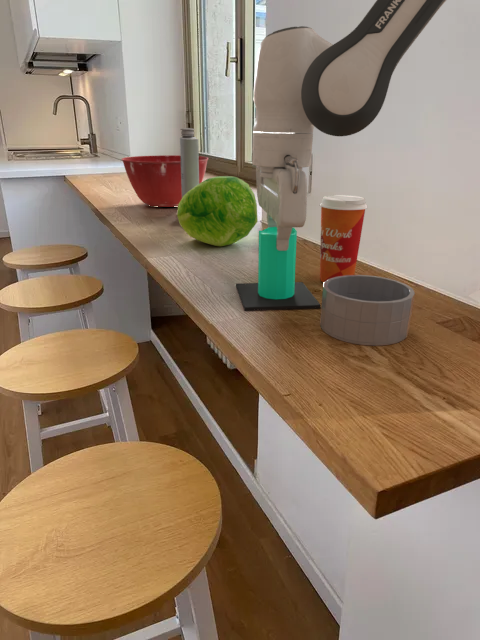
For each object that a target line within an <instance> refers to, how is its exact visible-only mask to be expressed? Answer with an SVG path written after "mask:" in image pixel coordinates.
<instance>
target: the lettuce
mask: <svg viewBox="0 0 480 640" xmlns="http://www.w3.org/2000/svg"><path fill="white" fill-rule="evenodd" d="M176 216H177V220H178V223H179V225H180V227H182V229H183V230H184V232H185V233H186V234H187V236H189V237H190V238H193V239H194V240H196V241H198V242H201V243H204V244H208V245H211V246H214V247H224V246H229V245H233V244H235V243H236V242H239V241H240V240H243V239H244V238H246V237H247V236H248V235H249V234H250V233H251V231H252V230H253V229H254V227H255V226H256V225H257V223H258V204H257V200H256V195H255V193H254V191H253V189H252V188H251V186H250V185H249V183H248V182H246V181H244V180H243V179H241V178H239V177H237V176H233V175H230V176H229V175H224V176H219V175H217V176H213V177H209V178H207V179H205V180H203V181H202V182H201V183H200V184H198V185H197V186H195V187H194V188H192V189H191V190H190V191H188V192H187V193H186V194H185V195H184V196H183V198H182V199H181V201H180V203H179V204H178V207H177V212H176Z"/></svg>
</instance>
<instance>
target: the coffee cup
mask: <svg viewBox="0 0 480 640" xmlns="http://www.w3.org/2000/svg"><path fill="white" fill-rule="evenodd" d="M319 207H320V248H319V249H320V252H319V253H320V254H319V255H320V256H319V267H320V268H319V279H320V282H322V283H323V284H324V282H325V281H326V280H328V279H330V278H333V277H337V276H344V275H356V267H357V262H358V255H359V249H360V245H361V244H360V243H361V238H362V232H363V231H362V230H363V226H364V219H365V213H366V210H368V205H367V201H366V199H365V197H362V196H359V195H348V194H331V195H325V196H323V197H322V199H321V202H320V203H319Z"/></svg>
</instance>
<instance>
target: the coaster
mask: <svg viewBox="0 0 480 640" xmlns="http://www.w3.org/2000/svg"><path fill="white" fill-rule="evenodd" d="M235 288H236V291H237V294H238V296H239V299H240V302H241V305H242V307H243V309H244V311H245V312H248V311H250V312H251V311H252V312H254V311H282V310H283V311H287V310H311V309H312V310H313V309H314V310H318V309H320V310H321V306H322V304H321V303H320V302H319V301H318V300H317V299H316V297H315V296H314V295H313V293H312V292H311V291H310V289H309V288H308V287H307V286H306V284H305V283H304V282H303V281H295V290H294V295H293V296H292V297H290V298H287V299H267V298H264V297H261V296H260V295H259V294H258V282H244V283H243V282H241V283H235Z"/></svg>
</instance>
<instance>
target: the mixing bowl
mask: <svg viewBox="0 0 480 640" xmlns="http://www.w3.org/2000/svg"><path fill="white" fill-rule="evenodd" d="M120 160H121V161H122V163H123V167H124V171H125V173H126V175H127V178H128V181H129V183H130V184H131V187H132V189H133V191H134V192H135V194H136V196H137V197H138V199H139V200H140V201H141V202H142V203H144V204H145V205H147V206H148V205H150V206H158V207H174V206H178V204H179V203H180V201H181V199H182V188H181V155H180V154H179V155H176V154H175V155H170V154H169V155H167V154H166V155H165V154H163V155H161V154H160V155H159V154H158V155H138V156H126V157H122V158H121V159H120ZM208 161H209V157H208V156H202V155H201V156H200V155H199V184H200V183H201V182H203V181H204V178H205V174H206V170H207V164H208ZM150 206H149V207H150Z"/></svg>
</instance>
